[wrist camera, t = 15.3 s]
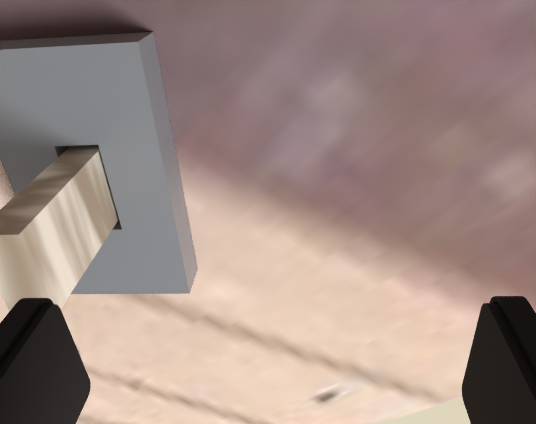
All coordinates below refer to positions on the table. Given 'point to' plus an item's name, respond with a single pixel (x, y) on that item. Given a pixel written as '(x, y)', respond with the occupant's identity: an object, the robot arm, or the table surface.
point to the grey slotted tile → (103, 148)
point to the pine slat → (55, 227)
